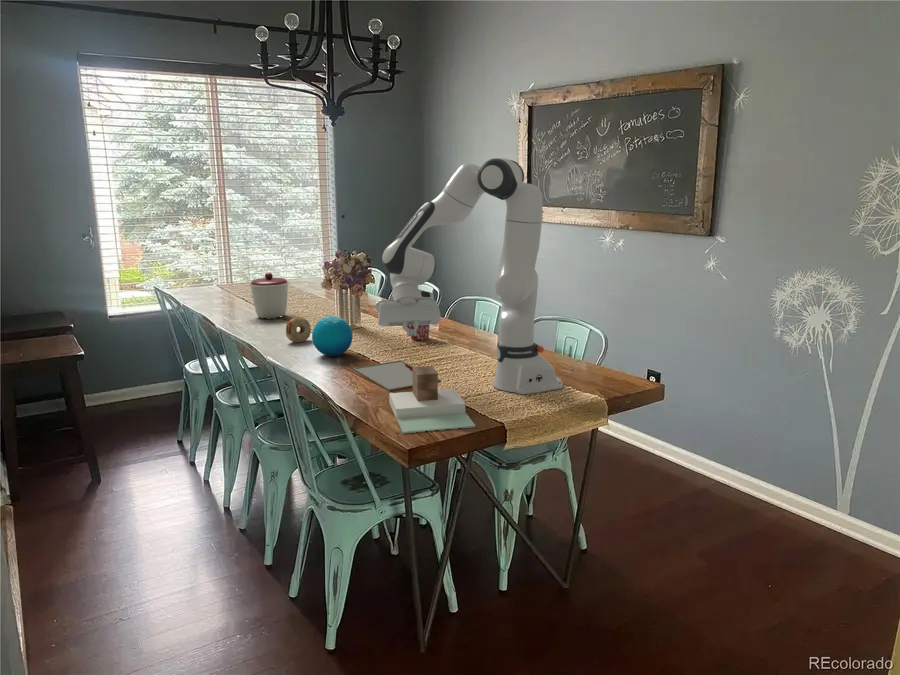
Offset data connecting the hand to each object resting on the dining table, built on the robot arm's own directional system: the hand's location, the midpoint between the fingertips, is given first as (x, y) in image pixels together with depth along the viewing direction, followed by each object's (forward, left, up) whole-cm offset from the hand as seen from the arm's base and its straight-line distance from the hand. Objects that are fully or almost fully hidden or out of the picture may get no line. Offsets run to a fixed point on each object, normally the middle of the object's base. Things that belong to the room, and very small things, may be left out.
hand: (411, 335), depth 217 cm
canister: (+47, -117, -17) cm, 127 cm away
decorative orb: (+23, -42, -17) cm, 50 cm away
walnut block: (0, +20, -14) cm, 25 cm away
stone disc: (+35, -66, -17) cm, 76 cm away
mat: (0, +35, -17) cm, 39 cm away
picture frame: (+4, -12, -17) cm, 21 cm away
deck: (0, +22, -17) cm, 28 cm away
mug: (-12, -59, -17) cm, 62 cm away
